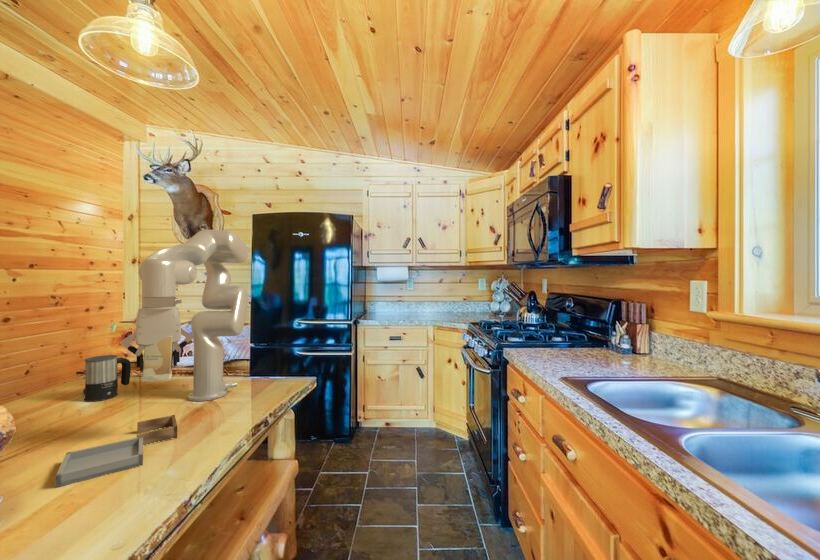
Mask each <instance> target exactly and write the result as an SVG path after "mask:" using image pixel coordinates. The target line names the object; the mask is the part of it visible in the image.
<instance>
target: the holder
mask: <svg viewBox="0 0 820 560" xmlns="http://www.w3.org/2000/svg"><path fill="white" fill-rule="evenodd" d="M136 423H137V425H136V427H137V428H136V429H137V430H136V431H137V432H136V438H139V437H143V445H145V446H147V445H146V444H149V445H151V444H150V443H153V444H155V443H154V442H157V443H159V442H158V441H162V440H166V439H170V440H172V439H171V438H175V439H178V423H177V420H176V414H173V415H167V416H162V417H157V418H151V419H146V420H141V421H137V422H136ZM169 426H172V427H169ZM164 427H167V428H164ZM159 428H162V429H159ZM156 429H157V430H156ZM151 430H153V431H151ZM147 431H148V432H147ZM142 432H143V433H142ZM138 433H139V434H138ZM166 441H167V440H166ZM162 442H163V441H162Z"/></svg>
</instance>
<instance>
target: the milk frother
mask: <svg viewBox="0 0 820 560" xmlns="http://www.w3.org/2000/svg"><path fill="white" fill-rule="evenodd" d="M118 356H119V355H116V354H106V355H105V354H104V355H96V356H91V357H87V358H84V362H85V363H84V366H85V368H84V369H85V370H84V372H85V373H84V376H85V377H84V380H85V381H84V383H85V385H84V389H83V390H82V393H83V394H84V398H83V401H84V402H86V401H87V403H88V402H89V403H90V402H91V403H92V402H93V401H94V402H101V401H106V400H111V399H113V398H115V397H117V396H118V395H119V394H118V385H119V384H118V378H119V377H118V364H121V371H120V372H121V373H120V374H121V376H120V384H121V385H123V386H127V385H129V384H130V381H131V368H132V363H131V361H130V359H128V358H126V357H118Z"/></svg>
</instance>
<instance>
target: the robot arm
mask: <svg viewBox="0 0 820 560" xmlns="http://www.w3.org/2000/svg"><path fill="white" fill-rule="evenodd" d="M248 257H249V250H248V246H247V244H246V243H245V241H244V240H243V239H241V237H240V236H239V235H238V234H237V233H235V232H234V231H232V230H225V229H202V230H200V231H198V232H196V233H195V234H194V235H193V236H191V237H190V238H189V239H188V240H187V241H185V242H184V243H180V244H176V245H173V246H170V247H166V248H162V249H159V250H157V251H154V252H153V253H151V254H150V255H149V256H147V257H146V258H145V259H143V260H142V262H141V263H140V265H139V267H138V277H139V279H140V280H141V308H138V309H137V313H136V317H135V331H134V332H132V333H131V334H129V335H128V336H127V337H126V338H124V339H123V340H121V342H120V345H121V346H123V347H124V348H126V349H127V351H129V352H130V353H132V354H133V355H135V356H136V368H139V371H141V372H143V362H144V353H143V352H144V348H145V346H147V345H152V344H156V343H158V342H159V341H160V340H161V339H162V338H163V337H168V336H172V345H173V347H174V349H173V365H172V366H174V367H178V363H180V359H181V358H180V357H181V356H180V354H181V351H182V350H183V349H184V348H185V347H186V346H188V343H190V342H191V340H192V339H193V384H192V385H193V386H192V387H193V391H191V392H190V393H188V395H187V398H188V400H189V401H192V402H204V401H211V400H212V401H213V400H216V399H219V398H222V397H224V396H226V395H228V389H229V388H231V389H232V388H236V387H237V386H238V383H237V381H227V382H225V380H224V345H223V344H222V341H220V339H219V338H218V337H237V336H239V335H242V333H243V330H244V327H245V323H246V322H245V321H246V316H247V309H248V304H249V303H248V302H249V293H248V291H247V289H246V287H244V286H242V285H231V281H232V275H231V273H230V271H229V270H228V269H227V268H226V267H225V265H223V263H225V264H226V263H227V264H228V263H229V264H242V263H245V262H246V261H247V259H248ZM202 264H203V265H204V267H205V270H206V280H205V283H204V287H203V292H202V297H201V304H202V306H203V308H204V309H207V310H204V311H200V312H197V313H195V314H193V316H192V318H191V319H190V320H191V321H190V327H191V333H192V334H190V333H189V332H187V330H185V329H183V328H182V324H181V323H182V322H181V316H180V315H181V314H180V309H179V307H177V306H176V305H178V304H182V303H183V301H182V298H179V297H176V290H177V289H176V286H180V285H181V286H182V285H184V286H185V285H189V284H192V283H193V282H194V281H195V280H196V279H197V277H198V268H197V266H200V265H202ZM182 336H183V337H185V338H184V340H182V341H181V339H182ZM134 340H135V344H136V345H137V346H138V347H136V346H134V345H132V344H131V342H132V341H134ZM180 341H181V342H180ZM179 342H180V343H179Z"/></svg>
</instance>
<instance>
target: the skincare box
mask: <svg viewBox="0 0 820 560" xmlns="http://www.w3.org/2000/svg"><path fill="white" fill-rule="evenodd" d="M174 349H175V348H174V347H173V345H172V336H168V337H163V338H162V339H161V340H160V341H159V342H158V343H156V344H152V345H147V346H145V348H144V350H143V370H142V377H141V378H142V380H141V381H142V382H144V383H145V382H155V381H168V380H171V378H172V376H173V366H174V365H173V351H174Z"/></svg>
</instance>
